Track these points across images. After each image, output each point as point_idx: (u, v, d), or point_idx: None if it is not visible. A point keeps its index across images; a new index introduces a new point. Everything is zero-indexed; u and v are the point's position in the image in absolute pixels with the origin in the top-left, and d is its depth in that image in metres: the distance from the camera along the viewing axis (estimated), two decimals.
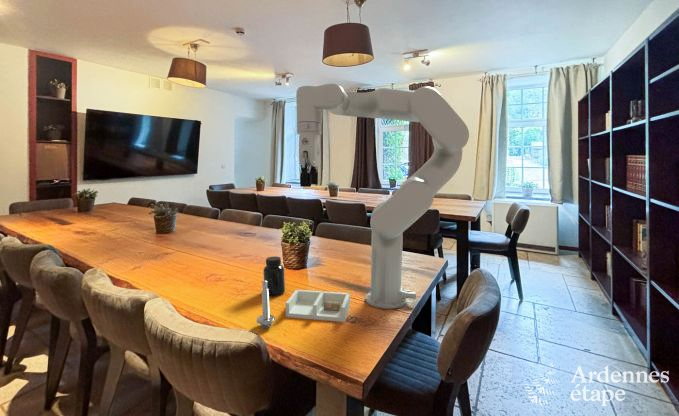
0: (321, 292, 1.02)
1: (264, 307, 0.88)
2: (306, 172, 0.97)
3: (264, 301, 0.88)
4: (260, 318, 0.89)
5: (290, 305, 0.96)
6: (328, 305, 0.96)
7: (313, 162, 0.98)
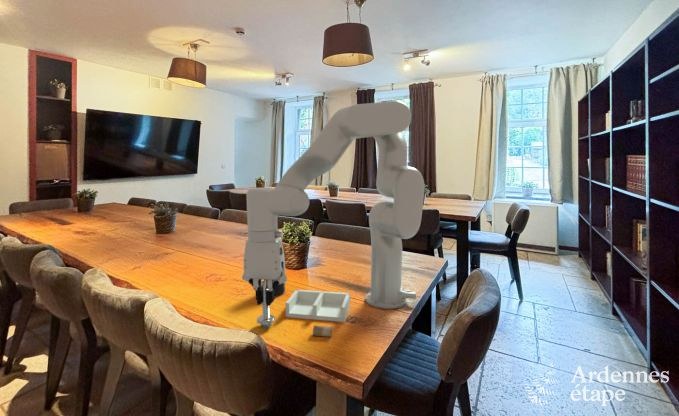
0: (321, 292, 1.02)
1: (264, 307, 0.88)
2: None
3: (264, 301, 0.88)
4: (260, 318, 0.89)
5: (290, 305, 0.96)
6: None
7: None
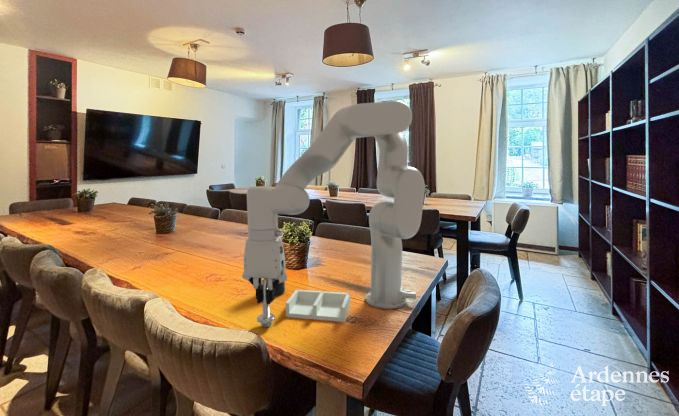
0: (321, 292, 1.02)
1: (264, 306, 0.88)
2: None
3: (264, 300, 0.88)
4: (261, 317, 0.89)
5: (290, 305, 0.96)
6: None
7: None
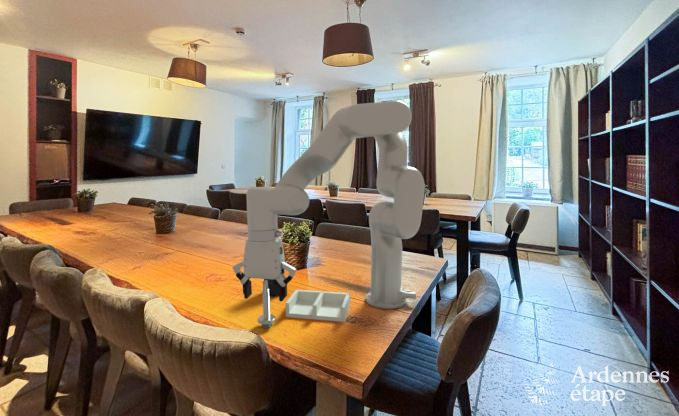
0: (321, 292, 1.02)
1: (265, 307, 0.88)
2: None
3: (265, 301, 0.88)
4: (261, 318, 0.89)
5: (290, 305, 0.96)
6: None
7: None
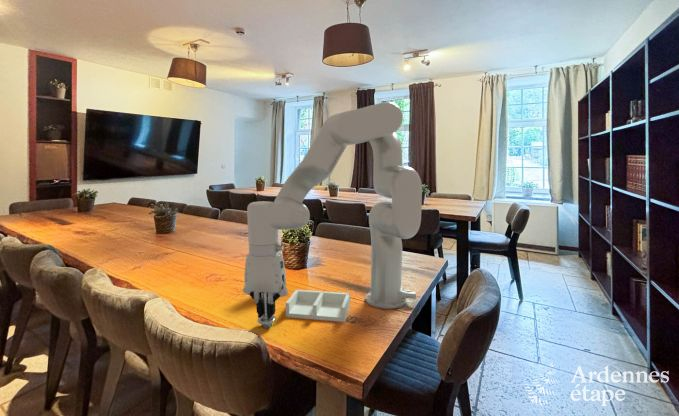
0: (321, 292, 1.02)
1: (265, 307, 0.88)
2: None
3: (265, 301, 0.88)
4: (261, 318, 0.89)
5: (290, 305, 0.96)
6: None
7: None
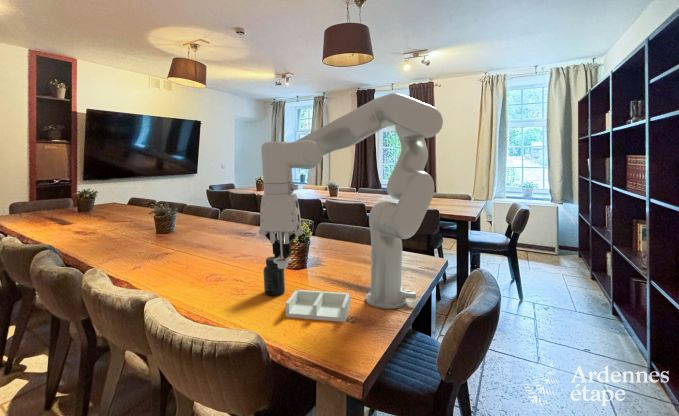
0: (321, 292, 1.02)
1: (281, 247, 0.89)
2: None
3: (280, 241, 0.89)
4: (277, 259, 0.90)
5: (290, 305, 0.96)
6: None
7: None
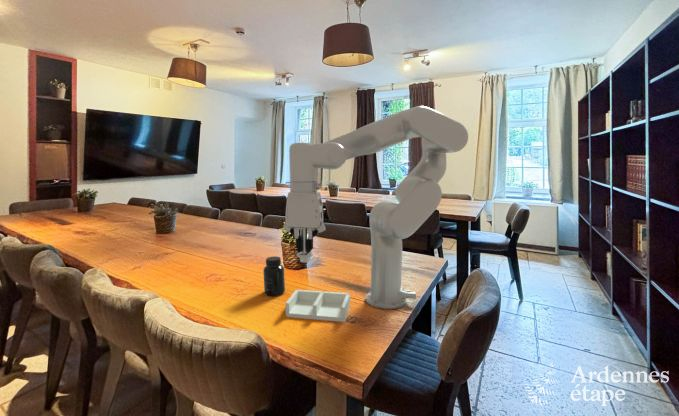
0: (321, 292, 1.02)
1: (304, 242, 0.95)
2: None
3: (304, 237, 0.95)
4: (300, 253, 0.96)
5: (290, 305, 0.96)
6: None
7: None
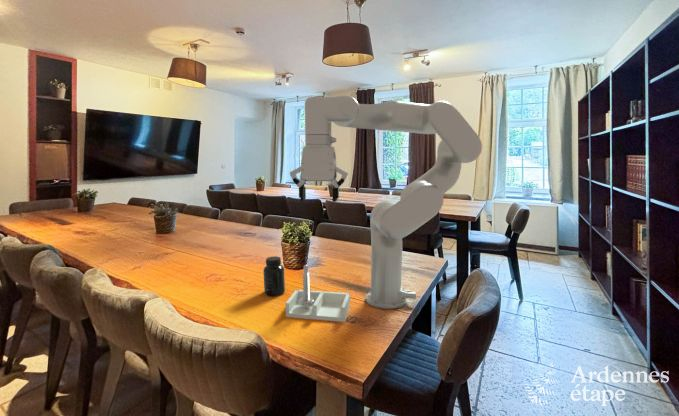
0: (321, 292, 1.02)
1: (305, 289, 0.97)
2: (339, 186, 0.98)
3: (305, 284, 0.97)
4: (301, 300, 0.98)
5: (290, 305, 0.96)
6: None
7: None
